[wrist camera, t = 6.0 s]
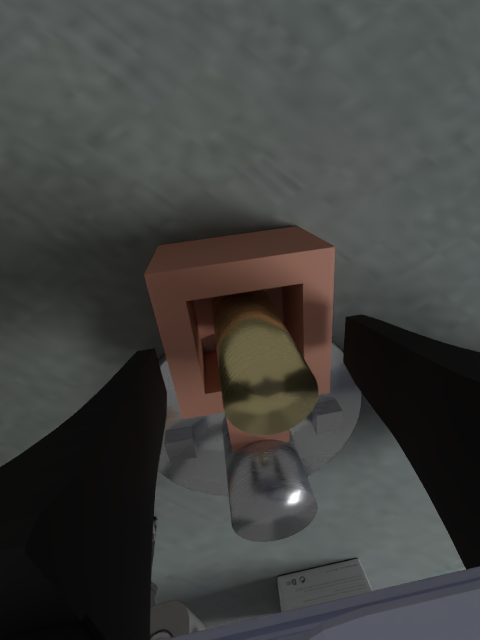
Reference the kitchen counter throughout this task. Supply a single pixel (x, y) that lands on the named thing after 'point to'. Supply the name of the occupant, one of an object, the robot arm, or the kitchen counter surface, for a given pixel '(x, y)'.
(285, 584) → the supplement box
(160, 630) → the mechanical component
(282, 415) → the gold capsule
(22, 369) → the kitchen counter surface
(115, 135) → the kitchen counter surface
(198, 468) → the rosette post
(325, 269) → the bracket
